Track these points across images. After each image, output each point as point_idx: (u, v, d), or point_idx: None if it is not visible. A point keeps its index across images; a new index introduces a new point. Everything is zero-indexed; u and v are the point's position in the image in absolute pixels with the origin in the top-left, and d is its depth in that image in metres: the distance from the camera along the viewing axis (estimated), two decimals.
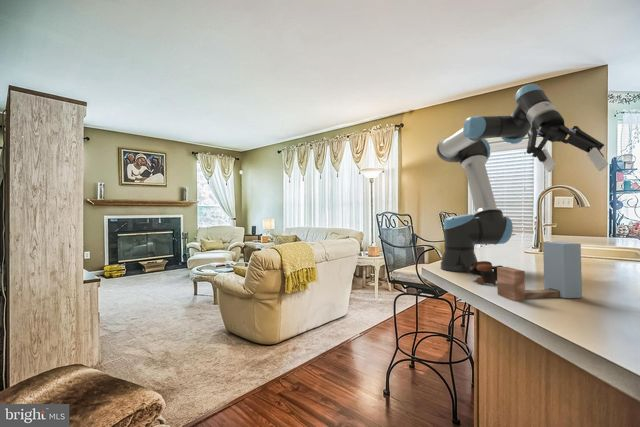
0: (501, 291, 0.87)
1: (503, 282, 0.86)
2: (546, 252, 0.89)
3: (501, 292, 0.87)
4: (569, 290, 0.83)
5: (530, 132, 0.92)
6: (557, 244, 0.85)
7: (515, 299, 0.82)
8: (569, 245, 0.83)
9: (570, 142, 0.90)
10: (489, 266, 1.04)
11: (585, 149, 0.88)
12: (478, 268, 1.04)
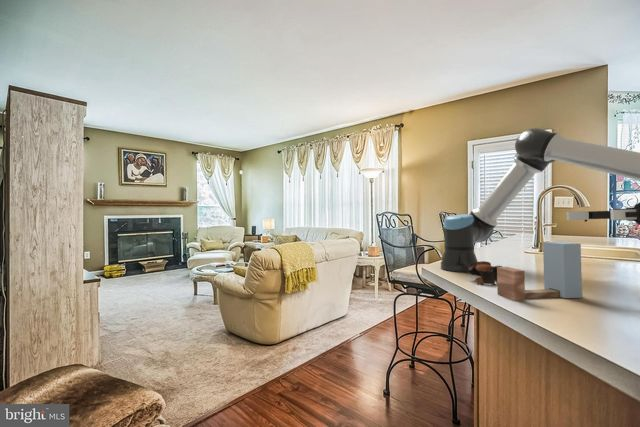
0: (501, 291, 0.87)
1: (503, 282, 0.86)
2: (546, 252, 0.89)
3: (501, 292, 0.87)
4: (569, 290, 0.83)
5: None
6: (557, 244, 0.85)
7: (515, 299, 0.82)
8: (569, 245, 0.83)
9: None
10: (488, 266, 1.03)
11: (593, 213, 0.94)
12: (477, 268, 1.04)
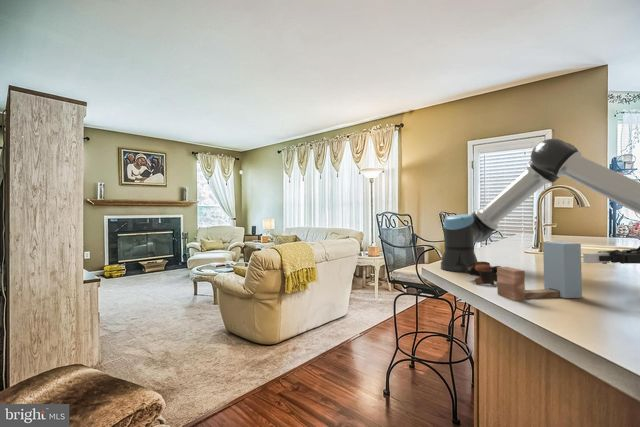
0: (501, 291, 0.87)
1: (503, 282, 0.86)
2: (546, 252, 0.89)
3: (501, 292, 0.87)
4: (569, 290, 0.83)
5: None
6: (557, 244, 0.85)
7: (515, 299, 0.82)
8: (569, 245, 0.83)
9: None
10: (487, 266, 1.03)
11: (611, 254, 0.88)
12: (476, 268, 1.03)
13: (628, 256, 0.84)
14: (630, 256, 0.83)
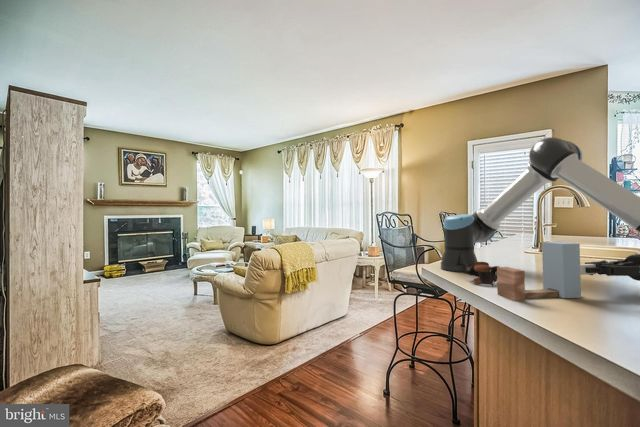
0: (501, 291, 0.87)
1: (503, 282, 0.86)
2: (545, 252, 0.89)
3: (501, 292, 0.87)
4: (568, 290, 0.83)
5: None
6: (556, 244, 0.85)
7: (515, 299, 0.82)
8: (568, 245, 0.83)
9: None
10: (486, 267, 1.03)
11: None
12: (475, 269, 1.03)
13: (614, 268, 0.83)
14: (616, 268, 0.83)
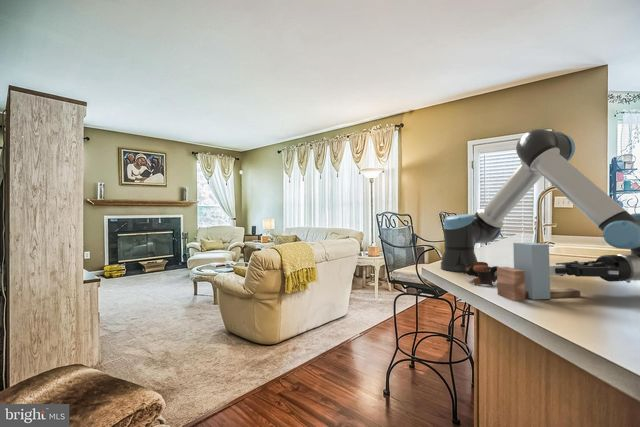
0: (501, 291, 0.87)
1: (503, 282, 0.86)
2: (516, 253, 0.88)
3: (501, 292, 0.87)
4: (537, 291, 0.82)
5: (612, 273, 0.81)
6: (526, 245, 0.84)
7: (515, 299, 0.82)
8: (537, 246, 0.82)
9: None
10: (486, 267, 1.02)
11: None
12: (475, 269, 1.03)
13: (583, 269, 0.82)
14: (585, 269, 0.82)
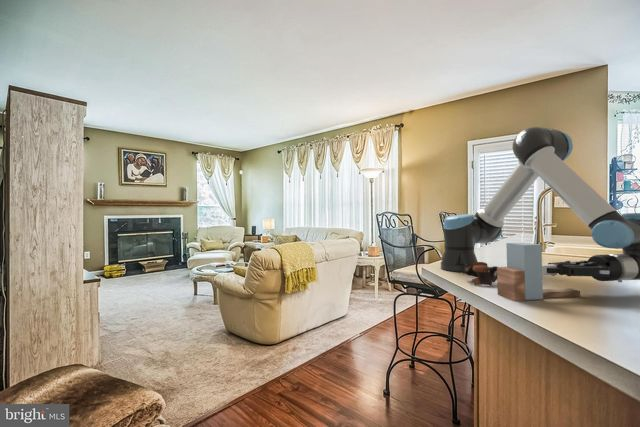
0: (501, 291, 0.87)
1: (503, 282, 0.86)
2: (509, 253, 0.88)
3: (501, 292, 0.87)
4: (529, 291, 0.82)
5: (603, 272, 0.81)
6: (518, 245, 0.84)
7: (515, 299, 0.82)
8: (530, 246, 0.82)
9: None
10: (485, 267, 1.02)
11: None
12: (474, 269, 1.02)
13: (574, 269, 0.83)
14: (576, 269, 0.83)
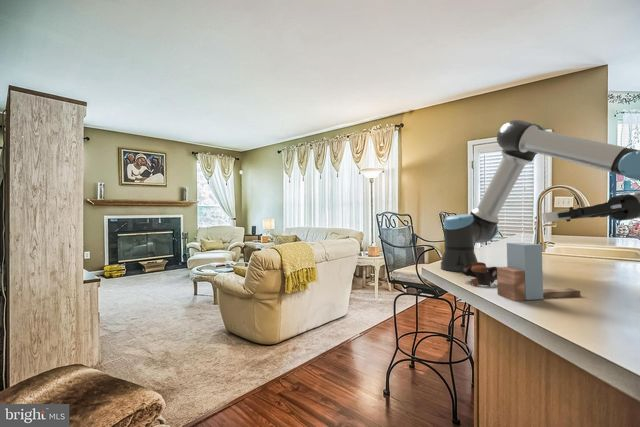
0: (501, 291, 0.87)
1: (503, 282, 0.86)
2: (509, 253, 0.88)
3: (501, 292, 0.87)
4: (530, 291, 0.82)
5: (614, 207, 0.84)
6: (519, 245, 0.84)
7: (515, 299, 0.82)
8: (530, 246, 0.82)
9: None
10: (484, 267, 1.02)
11: None
12: (473, 269, 1.02)
13: (584, 208, 0.87)
14: (586, 208, 0.87)
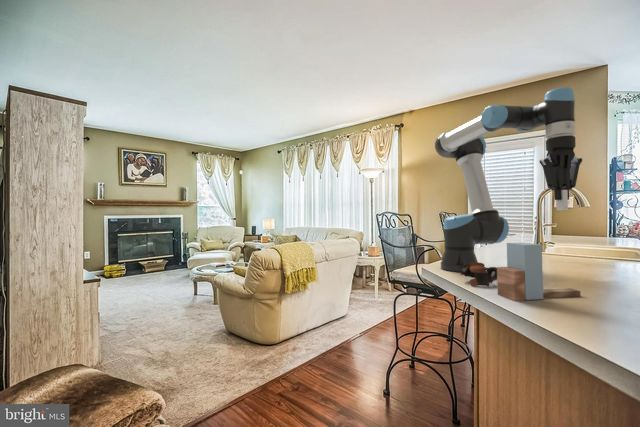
0: (501, 291, 0.87)
1: (503, 282, 0.86)
2: (509, 253, 0.88)
3: (501, 292, 0.87)
4: (530, 291, 0.82)
5: (544, 163, 0.98)
6: (519, 245, 0.84)
7: (515, 299, 0.82)
8: (530, 246, 0.82)
9: None
10: (482, 267, 1.01)
11: None
12: (471, 270, 1.01)
13: (548, 183, 0.98)
14: (547, 182, 0.98)
